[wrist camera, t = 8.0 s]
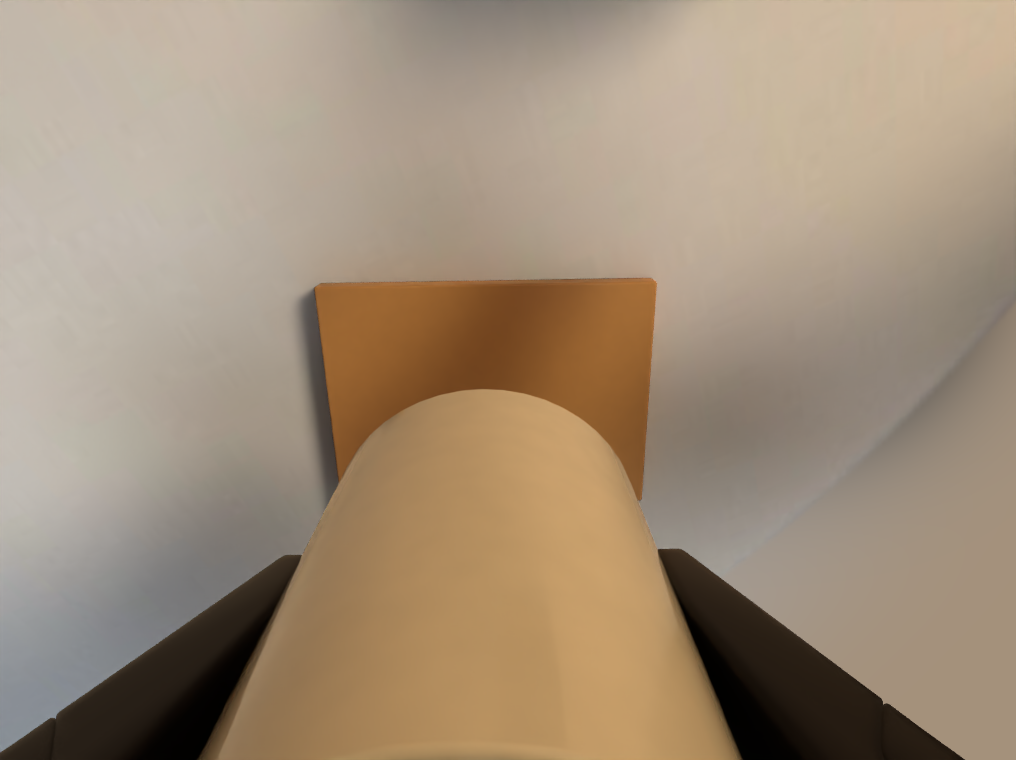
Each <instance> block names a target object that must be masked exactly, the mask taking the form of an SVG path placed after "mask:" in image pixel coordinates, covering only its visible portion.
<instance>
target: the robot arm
mask: <svg viewBox="0 0 1016 760" xmlns="http://www.w3.org/2000/svg"><path fill="white" fill-rule="evenodd" d="M658 552H659V554H660V557H661V559H662V562H663V564H664V566H665V569H666V571H667V574H668V576H669V579H670V581H671V584H672V586H673V589H674V591H675V594H676V596H677V599H678V601H679V604H680V606H681V609H682V611H683V614H684V616H685V619H686V621H687V624H688V626H689V628H690V631H691V633H692V636H693V638H694V641H695V643H696V646H697V648H698V651H699V653H700V656H701V658H702V661H703V663H704V666H705V668H706V671H707V673H708V676H709V678H710V681H711V683H712V686H713V688H714V690H715V693H716V695H717V698H718V700H719V703H720V705H721V708H722V710H723V713H724V715H725V718H726V720H727V723H728V725H729V728H730V730H731V733H732V735H733V738H734V740H735V743H736V745H737V748H738V750H739V752H740V755H741V757H742V760H965V759H963V758H962V757H960V756H959V755H958V754H956V753H955V752H954V751H952V750H951V749H949V748H948V747H947V746H945V745H944V744H942V743H941V742H940V741H938V740H937V739H936V738H934V737H933V736H931V735H930V734H929V733H927V732H926V731H924V730H923V729H922V728H920V727H919V726H918V725H916V724H915V723H913V722H912V721H911V720H910V719H908V718H907V717H906V716H904V715H903V714H902V713H900V712H899V711H897V710H896V709H895V708H894V707H892V706H891V705H889V704H884V705H883V701H882V699H881V698H880V697H878V696H877V695H876V694H874V693H873V692H872V691H870V690H869V689H868V688H866V687H865V686H864V685H862V684H861V683H860V682H858V681H857V680H856V679H854V678H853V677H852V676H850V675H849V674H848V673H846V672H845V671H844V670H842V669H841V668H840V667H838V666H837V665H836V664H834V663H833V662H832V661H830V660H829V659H828V658H826V657H825V656H824V655H822V654H821V653H819V652H818V651H817V650H816V649H814V648H813V647H812V646H810V645H809V644H808V643H806V642H805V641H804V640H802V639H801V638H800V637H798V636H797V635H796V634H794V633H793V632H792V631H790V630H789V629H788V628H786V627H785V626H784V625H782V624H781V623H780V622H778V621H777V620H776V619H774V618H773V617H772V616H770V615H769V614H768V613H766V612H765V611H764V610H762V609H761V608H760V607H758V606H757V605H756V604H754V603H753V602H752V601H750V600H749V599H748V598H746V597H745V596H744V595H742V594H741V593H740V592H738V591H737V590H736V589H734V588H733V587H732V586H730V585H729V584H728V583H726V582H725V581H724V580H722V579H721V578H720V577H718V576H717V575H716V574H714V573H713V572H712V571H710V570H709V569H708V568H706V567H705V566H704V565H702V564H701V563H700V562H698V561H697V560H696V559H694V558H693V557H692V556H690V555H689V554H688V553H686V552H685V551H683V550H682V549H658ZM301 556H302V555H285V556H283V557H281V558H279V559H278V560H276V561H275V562H274V563H272V564H271V565H269V566H268V567H266V568H265V569H264V570H262V571H261V572H259V573H258V574H256V575H255V576H254V577H252V578H251V579H249V580H248V581H246V582H245V583H244V584H242V585H241V586H239V587H238V588H236V589H235V590H233V591H232V592H231V593H229V594H228V595H226V596H225V597H223V598H222V599H221V600H219V601H218V602H216V603H215V604H213V605H212V606H211V607H209V608H208V609H206V610H205V611H203V612H202V613H201V614H199V615H198V616H196V617H195V618H193V619H192V620H191V621H189V622H188V623H186V624H185V625H183V626H182V627H180V628H179V629H178V630H176V631H175V632H173V633H172V634H170V635H169V636H168V637H166V638H165V639H163V640H162V641H160V642H159V643H158V644H156V645H155V646H153V647H152V648H150V649H149V650H148V651H146V652H145V653H143V654H142V655H140V656H139V657H137V658H136V659H135V660H133V661H132V662H130V663H129V664H127V665H126V666H125V667H123V668H122V669H120V670H119V671H117V672H116V673H115V674H113V675H112V676H110V677H109V678H107V679H106V680H104V681H103V682H102V683H100V684H99V685H97V686H96V687H94V688H93V689H92V690H90V691H89V692H87V693H86V694H84V695H83V696H82V697H80V698H79V699H77V700H76V701H74V702H73V703H71V704H70V705H69V706H67V707H66V708H64V709H63V710H61V711H60V712H59V713H58V714H57V716H56V719H55V718H50V719H48V720H47V721H45V722H44V723H43V724H41V725H40V726H38V727H37V728H35V729H34V730H33V731H31V732H30V733H28V734H27V735H25V736H24V737H23V738H21V739H20V740H18V741H17V742H15V743H14V744H12V745H11V746H9V747H8V748H6V749H5V750H3V751H2V752H1V753H0V760H197V759H198V757H199V755H200V753H201V751H202V749H203V747H204V745H205V743H206V741H207V739H208V737H209V735H210V734H211V732H212V730H213V728H214V726H215V724H216V722H217V720H218V718H219V716H220V714H221V712H222V710H223V708H224V706H225V704H226V702H227V700H228V698H229V696H230V694H231V693H232V691H233V689H234V687H235V685H236V683H237V681H238V679H239V677H240V675H241V673H242V671H243V669H244V667H245V665H246V663H247V661H248V659H249V657H250V655H251V654H252V652H253V650H254V648H255V646H256V644H257V642H258V640H259V638H260V636H261V634H262V632H263V630H264V628H265V626H266V624H267V622H268V620H269V618H270V616H271V614H272V613H273V611H274V609H275V607H276V605H277V603H278V601H279V599H280V597H281V595H282V593H283V591H284V589H285V587H286V585H287V583H288V581H289V579H290V577H291V575H292V574H293V572H294V570H295V568H296V566H297V564H298V562H299V560H300V558H301Z"/></svg>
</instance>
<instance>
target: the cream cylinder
mask: <svg viewBox="0 0 1016 760" xmlns="http://www.w3.org/2000/svg"><path fill="white" fill-rule="evenodd" d="M197 760H742V757H741V755H740V752H739V750H738V748H737V745H736V743H735V740H734V738H733V735H732V733H731V730H730V728H729V725H728V723H727V720H726V718H725V715H724V713H723V710H722V708H721V705H720V703H719V700H718V698H717V695H716V693H715V690H714V688H713V686H712V683H711V681H710V678H709V676H708V673H707V671H706V668H705V666H704V663H703V661H702V658H701V656H700V653H699V651H698V648H697V646H696V643H695V641H694V638H693V636H692V633H691V631H690V628H689V626H688V624H687V621H686V619H685V616H684V614H683V611H682V609H681V606H680V604H679V601H678V599H677V596H676V594H675V591H674V589H673V586H672V584H671V581H670V579H669V576H668V574H667V571H666V569H665V566H664V564H663V562H662V559H661V557H660V554H659V552H658V549H657V547H656V544H655V542H654V539H653V537H652V534H651V532H650V529H649V527H648V524H647V522H646V519H645V517H644V514H643V512H642V509H641V507H640V504H639V502H638V500H637V497H636V495H635V492H634V490H633V487H632V485H631V482H630V480H629V477H628V475H627V473H626V471H625V469H624V467H623V465H622V463H621V461H620V459H619V458H618V457H617V455H616V454H615V452H614V451H613V449H612V448H611V446H610V445H609V444H608V443H607V442H606V441H605V440H604V439H603V438H602V437H601V435H600V434H599V433H598V432H597V431H596V430H594V429H593V428H592V427H591V426H590V425H588V424H587V423H586V422H585V421H583V420H582V419H581V418H579V417H578V416H576V415H574V414H573V413H571V412H569V411H568V410H566V409H564V408H562V407H560V406H558V405H556V404H553V403H551V402H549V401H547V400H544V399H541V398H537V397H534V396H531V395H527V394H524V393H518V392H512V391H506V390H490V389H477V390H464V391H457V392H452V393H447V394H442V395H438V396H435V397H432V398H430V399H427V400H424V401H421V402H418V403H416V404H414V405H412V406H410V407H408V408H406V409H404V410H402V411H400V412H399V413H397V414H396V415H394V416H393V417H391V418H390V419H388V420H387V421H385V422H384V423H383V424H382V425H381V426H380V427H378V428H377V429H376V430H375V431H374V432H373V433H372V434H371V435H370V436H369V437H368V438H367V439H366V440H365V441H364V443H363V444H362V445H361V446H360V447H359V449H358V450H357V452H356V453H355V455H354V456H353V458H352V460H351V461H350V463H349V464H348V466H347V468H346V470H345V472H344V474H343V476H342V478H341V480H340V482H339V484H338V486H337V488H336V490H335V492H334V494H333V495H332V497H331V499H330V501H329V503H328V505H327V507H326V509H325V511H324V513H323V515H322V517H321V519H320V521H319V523H318V525H317V527H316V529H315V531H314V533H313V535H312V536H311V538H310V540H309V542H308V544H307V546H306V548H305V550H304V552H303V554H302V556H301V558H300V560H299V562H298V564H297V566H296V568H295V570H294V572H293V574H292V575H291V577H290V579H289V581H288V583H287V585H286V587H285V589H284V591H283V593H282V595H281V597H280V599H279V601H278V603H277V605H276V607H275V609H274V611H273V613H272V614H271V616H270V618H269V620H268V622H267V624H266V626H265V628H264V630H263V632H262V634H261V636H260V638H259V640H258V642H257V644H256V646H255V648H254V650H253V652H252V654H251V655H250V657H249V659H248V661H247V663H246V665H245V667H244V669H243V671H242V673H241V675H240V677H239V679H238V681H237V683H236V685H235V687H234V689H233V691H232V693H231V694H230V696H229V698H228V700H227V702H226V704H225V706H224V708H223V710H222V712H221V714H220V716H219V718H218V720H217V722H216V724H215V726H214V728H213V730H212V732H211V734H210V735H209V737H208V739H207V741H206V743H205V745H204V747H203V749H202V751H201V753H200V755H199V757H198V759H197Z"/></svg>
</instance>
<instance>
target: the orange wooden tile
mask: <svg viewBox="0 0 1016 760" xmlns="http://www.w3.org/2000/svg"><path fill="white" fill-rule="evenodd" d="M656 287H657V283H656V281H654V280H653V279H652V278H614V279H552V280H491V281H430V282H369V283H321V284H319V285H318V286H316V287H315V288H314V291H315V299H316V307H317V315H318V323H319V330H320V338H321V346H322V354H323V362H324V370H325V378H326V386H327V394H328V402H329V410H330V418H331V425H332V433H333V441H334V449H335V457H336V465H337V473H338V481H339V482H340V480H341V478H342V476H343V474H344V472H345V470H346V468H347V466H348V464H349V463H350V461H351V460H352V458H353V456H354V455H355V453H356V452H357V450H358V449H359V447H360V446H361V445H362V444H363V443H364V441H365V440H366V439H367V438H368V437H369V436H370V435H371V434H372V433H373V432H374V431H375V430H376V429H377V428H378V427H380V426H381V425H382V424H383V423H384V422H385V421H387V420H388V419H390V418H391V417H393V416H394V415H396V414H397V413H399V412H400V411H402V410H404V409H406V408H408V407H410V406H412V405H414V404H416V403H418V402H421V401H424V400H427V399H430V398H432V397H435V396H438V395H442V394H447V393H452V392H457V391H464V390H477V389H490V390H506V391H512V392H518V393H524V394H527V395H531V396H534V397H537V398H541V399H544V400H547V401H549V402H551V403H553V404H556V405H558V406H560V407H562V408H564V409H566V410H568V411H569V412H571V413H573V414H574V415H576V416H578V417H579V418H581V419H582V420H583V421H585V422H586V423H587V424H588V425H590V426H591V427H592V428H593V429H594V430H596V431H597V432H598V433H599V434H600V435H601V437H602V438H603V439H604V440H605V441H606V442H607V443H608V444H609V445H610V446H611V448H612V449H613V451H614V452H615V454H616V455H617V457H618V458H619V459H620V461H621V463H622V465H623V467H624V469H625V471H626V473H627V475H628V477H629V480H630V482H631V485H632V487H633V490H634V492H635V495H636V497H637V500H641V499H642V486H643V472H644V457H645V443H646V429H647V415H648V401H649V386H650V372H651V358H652V344H653V330H654V316H655V301H656Z"/></svg>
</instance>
